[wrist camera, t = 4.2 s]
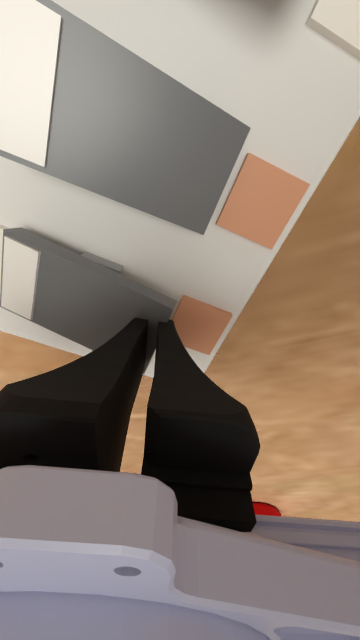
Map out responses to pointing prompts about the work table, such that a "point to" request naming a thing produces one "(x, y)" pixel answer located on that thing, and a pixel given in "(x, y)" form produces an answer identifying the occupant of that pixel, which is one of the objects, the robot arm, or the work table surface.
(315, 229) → the work table surface
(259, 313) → the work table surface
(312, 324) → the work table surface
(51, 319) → the block
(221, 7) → the console
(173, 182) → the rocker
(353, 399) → the work table surface
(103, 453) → the robot arm
